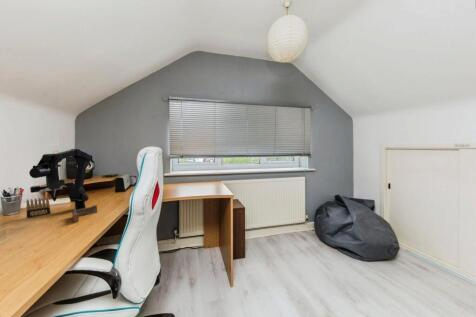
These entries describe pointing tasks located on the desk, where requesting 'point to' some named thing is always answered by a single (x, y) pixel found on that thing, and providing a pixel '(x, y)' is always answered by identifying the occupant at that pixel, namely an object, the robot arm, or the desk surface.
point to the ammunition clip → (38, 208)
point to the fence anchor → (86, 210)
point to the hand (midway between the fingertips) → (54, 200)
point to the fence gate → (75, 217)
